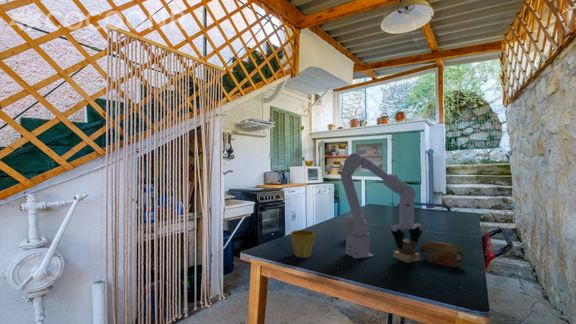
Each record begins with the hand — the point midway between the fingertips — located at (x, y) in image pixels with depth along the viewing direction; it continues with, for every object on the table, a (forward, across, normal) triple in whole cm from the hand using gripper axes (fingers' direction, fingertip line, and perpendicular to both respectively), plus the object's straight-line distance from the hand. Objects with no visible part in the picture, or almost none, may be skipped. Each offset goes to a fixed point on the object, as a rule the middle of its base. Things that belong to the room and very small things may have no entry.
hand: (406, 247), depth 113 cm
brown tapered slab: (+5, +9, -9) cm, 14 cm away
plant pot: (+5, -39, +19) cm, 44 cm away
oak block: (+5, 0, 0) cm, 5 cm away
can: (+5, -5, +31) cm, 32 cm away
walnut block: (+2, 0, 0) cm, 2 cm away
